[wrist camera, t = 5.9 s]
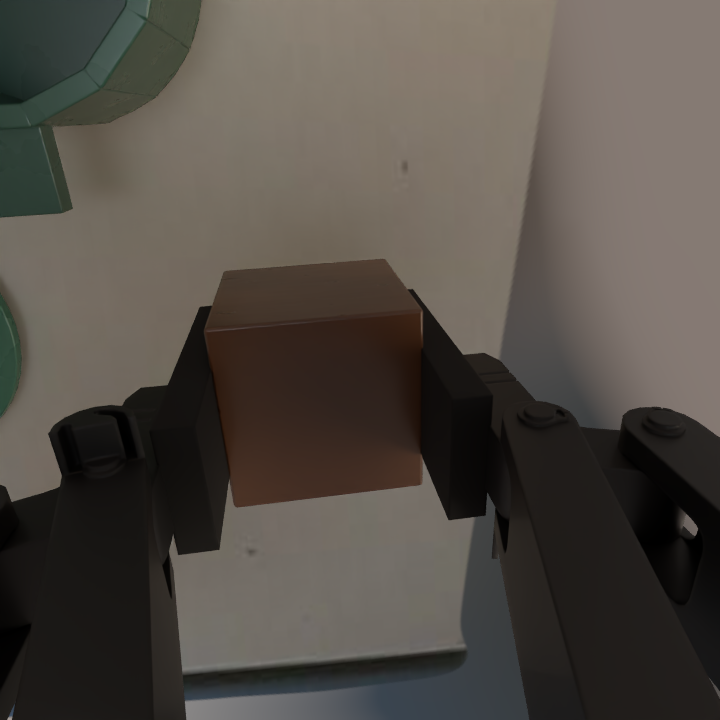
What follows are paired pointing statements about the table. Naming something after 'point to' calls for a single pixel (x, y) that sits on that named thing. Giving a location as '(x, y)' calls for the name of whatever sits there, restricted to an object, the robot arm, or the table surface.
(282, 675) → the table surface
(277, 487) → the block
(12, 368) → the lid
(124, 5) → the pot
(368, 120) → the table surface
